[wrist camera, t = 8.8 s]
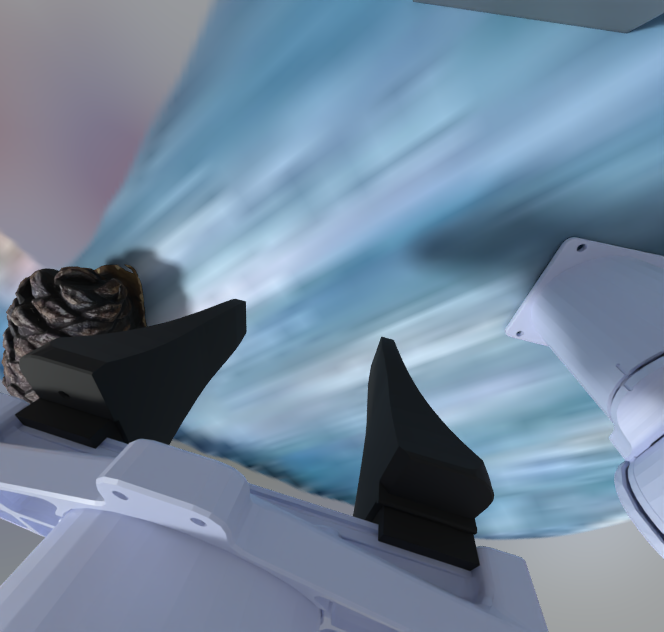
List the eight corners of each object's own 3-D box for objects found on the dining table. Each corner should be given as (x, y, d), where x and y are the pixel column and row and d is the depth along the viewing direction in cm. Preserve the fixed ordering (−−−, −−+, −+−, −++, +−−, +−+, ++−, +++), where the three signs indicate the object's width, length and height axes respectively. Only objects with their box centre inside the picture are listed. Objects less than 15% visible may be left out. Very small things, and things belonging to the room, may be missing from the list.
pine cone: (154, 267, 25) (33, 321, 17) (155, 379, 35) (80, 448, 26) (53, 221, 25) (-122, 253, 16) (83, 347, 34) (-17, 407, 26)
